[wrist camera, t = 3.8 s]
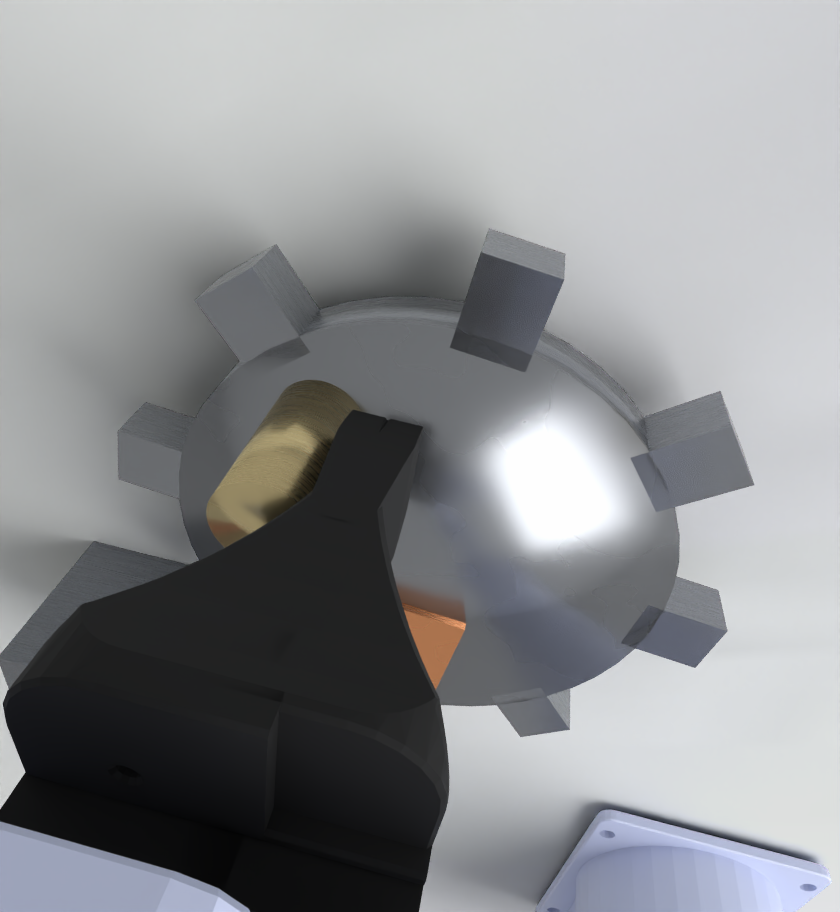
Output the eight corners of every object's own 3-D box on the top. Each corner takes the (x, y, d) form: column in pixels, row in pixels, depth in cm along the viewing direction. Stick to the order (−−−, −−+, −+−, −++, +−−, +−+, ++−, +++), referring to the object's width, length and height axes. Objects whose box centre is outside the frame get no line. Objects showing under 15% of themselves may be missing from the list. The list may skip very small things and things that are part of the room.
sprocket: (817, 646, 16) (884, 836, 13) (347, 729, 22) (303, 875, 19) (594, 59, 10) (601, 113, 7) (29, 388, 16) (-125, 508, 13)
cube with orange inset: (208, 639, 23) (139, 766, 19) (109, 614, 23) (22, 735, 19) (204, 567, 21) (126, 695, 17) (94, 540, 21) (-6, 661, 17)
